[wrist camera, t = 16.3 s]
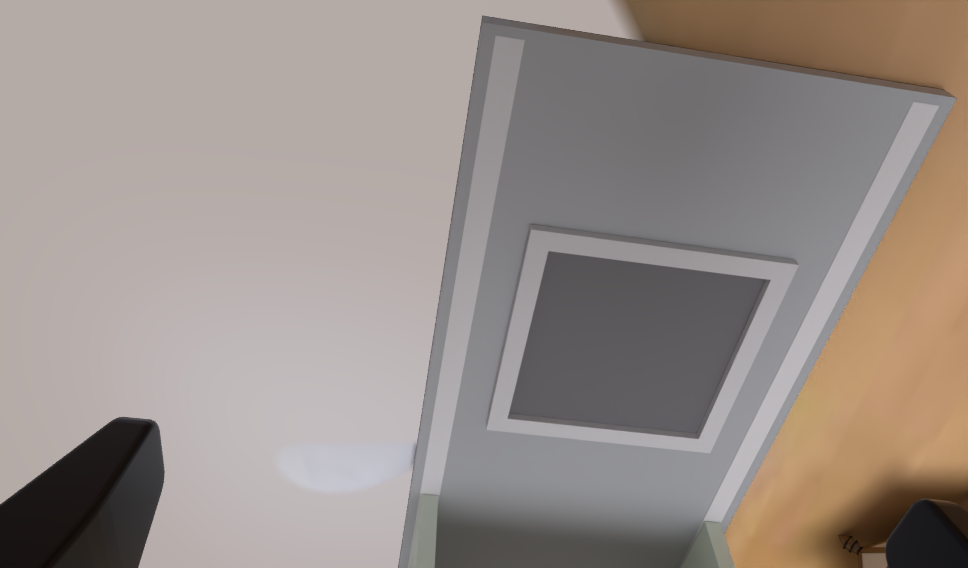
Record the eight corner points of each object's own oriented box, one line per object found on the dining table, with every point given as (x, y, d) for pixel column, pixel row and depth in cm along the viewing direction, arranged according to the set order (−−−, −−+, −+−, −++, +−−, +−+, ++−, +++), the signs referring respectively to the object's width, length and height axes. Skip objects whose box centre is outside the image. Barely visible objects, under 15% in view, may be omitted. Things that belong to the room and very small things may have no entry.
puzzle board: (944, 89, 19) (963, 102, 18) (671, 612, 32) (676, 632, 31) (482, 15, 18) (482, 26, 17) (394, 589, 31) (392, 609, 30)
